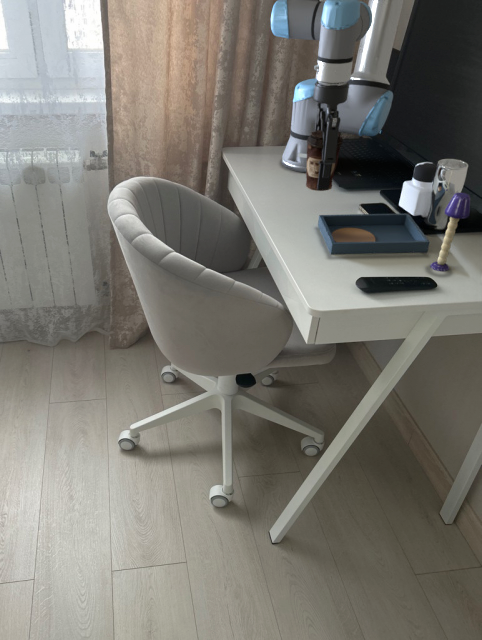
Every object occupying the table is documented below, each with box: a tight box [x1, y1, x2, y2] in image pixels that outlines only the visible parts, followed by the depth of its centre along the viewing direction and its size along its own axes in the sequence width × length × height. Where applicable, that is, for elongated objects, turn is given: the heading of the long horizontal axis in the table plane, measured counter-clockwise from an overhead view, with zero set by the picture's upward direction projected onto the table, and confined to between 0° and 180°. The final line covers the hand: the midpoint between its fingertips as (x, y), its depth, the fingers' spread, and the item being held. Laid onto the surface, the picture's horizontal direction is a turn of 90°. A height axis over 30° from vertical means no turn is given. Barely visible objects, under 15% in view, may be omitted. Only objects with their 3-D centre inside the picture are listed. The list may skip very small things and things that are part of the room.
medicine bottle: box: [398, 161, 438, 218], centre depth 140 cm, size 7×7×12 cm
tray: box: [317, 212, 431, 255], centre depth 130 cm, size 15×22×4 cm
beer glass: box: [423, 158, 469, 232], centre depth 133 cm, size 7×7×15 cm
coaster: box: [332, 228, 375, 242], centre depth 131 cm, size 10×10×1 cm
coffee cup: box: [305, 131, 344, 192], centre depth 136 cm, size 9×8×13 cm
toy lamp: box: [429, 192, 471, 273], centre depth 116 cm, size 5×5×17 cm
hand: (319, 182), depth 140 cm, fingers closed on coffee cup, 7 cm apart
